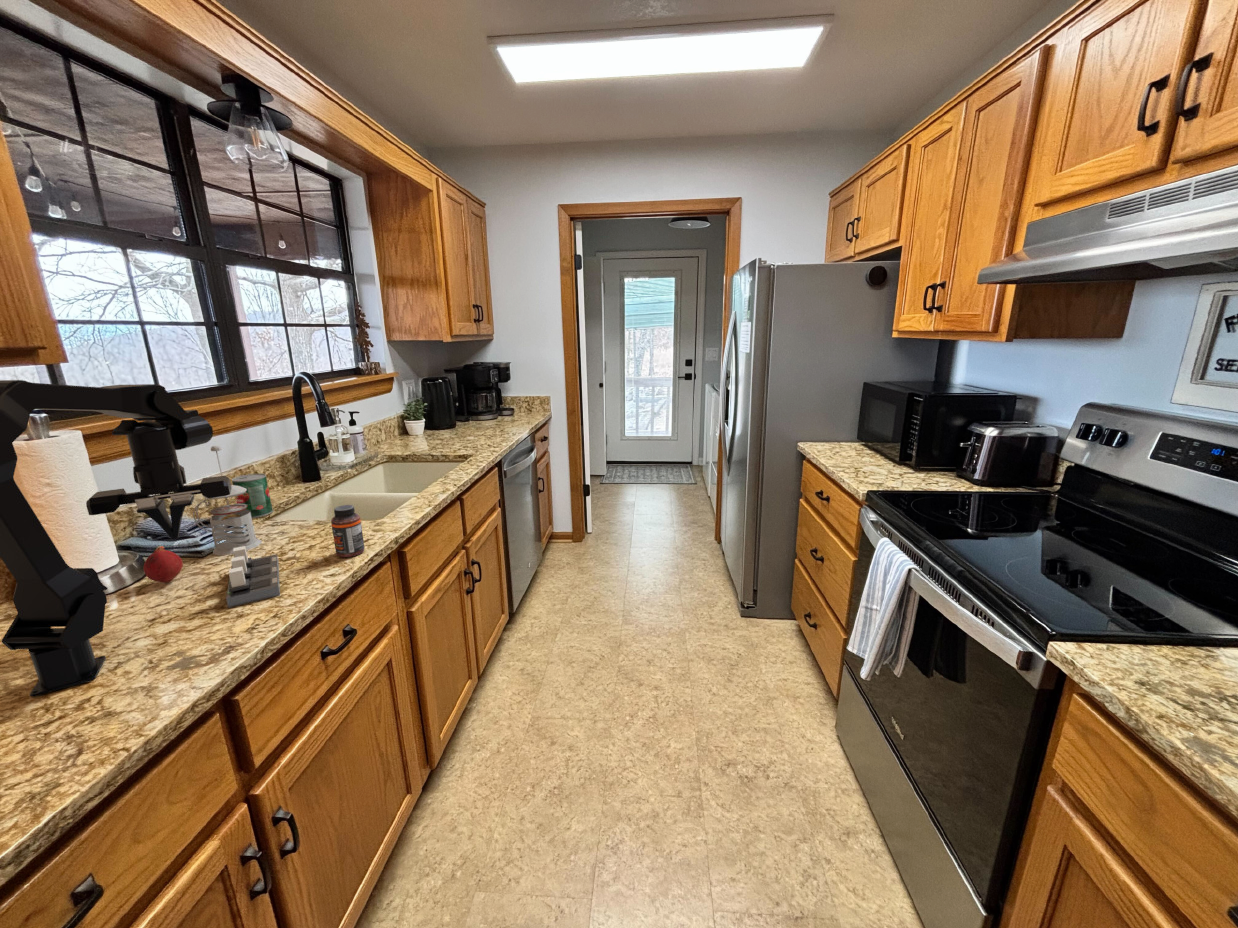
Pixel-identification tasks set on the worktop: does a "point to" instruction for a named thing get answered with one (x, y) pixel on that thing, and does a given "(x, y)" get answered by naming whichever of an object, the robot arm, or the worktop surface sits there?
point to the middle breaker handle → (241, 565)
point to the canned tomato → (254, 494)
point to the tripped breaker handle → (237, 579)
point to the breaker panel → (258, 582)
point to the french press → (230, 522)
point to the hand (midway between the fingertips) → (175, 538)
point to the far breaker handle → (242, 554)
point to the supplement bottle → (347, 532)
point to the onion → (163, 565)
